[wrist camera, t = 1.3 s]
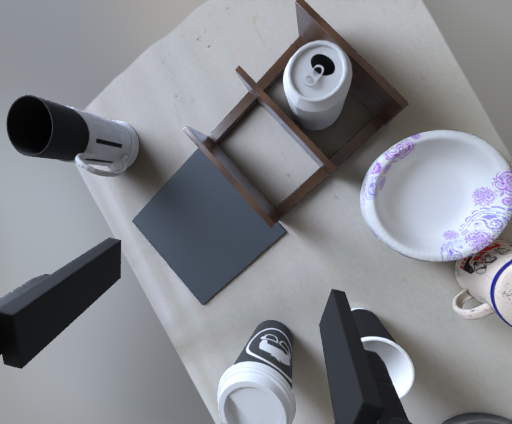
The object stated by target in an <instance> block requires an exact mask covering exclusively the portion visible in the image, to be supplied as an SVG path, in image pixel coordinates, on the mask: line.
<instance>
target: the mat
mask: <svg viewBox="0 0 512 424" xmlns="http://www.w3.org/2000/svg"><path fill="white" fill-rule="evenodd" d="M132 222H133V223H134V224H135V225H136V226H137V228H138V229H139V230H140V231H141V232H142V234H143V235H144V236H145V237H146V238H147V239H148V241H149V242H150V243H151V244H152V245H153V247H154V248H155V249H156V250H157V251H158V253H159V254H160V255H161V256H162V257H163V259H164V260H165V261H166V262H167V263H168V265H169V266H170V267H171V268H172V269H173V271H174V272H175V273H176V274H177V275H178V277H179V278H180V279H181V280H182V281H183V283H184V284H185V285H186V286H187V287H188V289H189V290H190V291H191V292H192V293H193V294H194V296H195V297H196V298H197V299H198V300H199V302H200V303H201V304H202V305H203V304H204V303H206V302H207V301H208V300H209V299H210V298H211V297H212V296H213V295H215V294H216V293H217V292H218V291H219V290H220V289H221V288H223V287H224V286H225V285H226V284H227V283H228V282H229V281H231V280H232V279H233V278H234V277H235V276H236V275H237V274H239V273H240V272H241V271H242V270H243V269H244V268H245V267H246V266H248V265H249V264H250V263H251V262H252V261H253V260H254V259H256V258H257V257H258V256H259V255H260V254H261V253H262V252H264V251H265V250H266V249H267V248H268V247H269V246H270V245H272V244H273V243H274V242H275V241H276V240H277V239H278V238H279V237H281V236H282V235H283V234H284V233H285V232H286V230H285V229H284V228H283V227H282V226H281V225H280V224H279V223H278V222H277V223H276V224H275V225H274V226H273V227H272V228H270V226H269V225H268V224H267V223H266V222H265V221H264V220H263V219H262V218H261V216H260V215H259V214H258V213H257V212H256V211H255V210H254V209H253V207H252V206H251V205H250V204H249V203H248V202H247V201H246V200H245V199H244V197H243V196H242V195H241V194H240V193H239V192H238V191H237V190H236V189H235V187H234V186H233V185H232V184H231V183H230V182H229V181H228V180H227V179H226V177H225V176H224V175H223V174H222V173H221V172H220V171H219V170H218V169H217V167H216V166H215V165H214V164H213V163H212V162H211V161H210V160H209V158H208V157H207V156H206V155H205V154H204V153H203V152H202V151H201V150H200V148H198V149H197V150H196V151H195V152H194V154H193V155H192V156H191V157H190V158H189V159H188V160H187V161H186V162H185V163H184V164H183V166H182V167H181V168H180V169H179V170H178V171H177V172H176V173H175V174H174V175H173V176H172V178H171V179H170V180H169V181H168V182H167V183H166V184H165V185H164V186H163V187H162V188H161V190H160V191H159V192H158V193H157V194H156V195H155V196H154V197H153V198H152V199H151V201H150V202H149V203H148V204H147V205H146V206H145V207H144V208H143V209H142V210H141V211H140V213H139V214H138V215H137V216H136V217H135V218H134V219H133V220H132Z"/></svg>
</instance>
